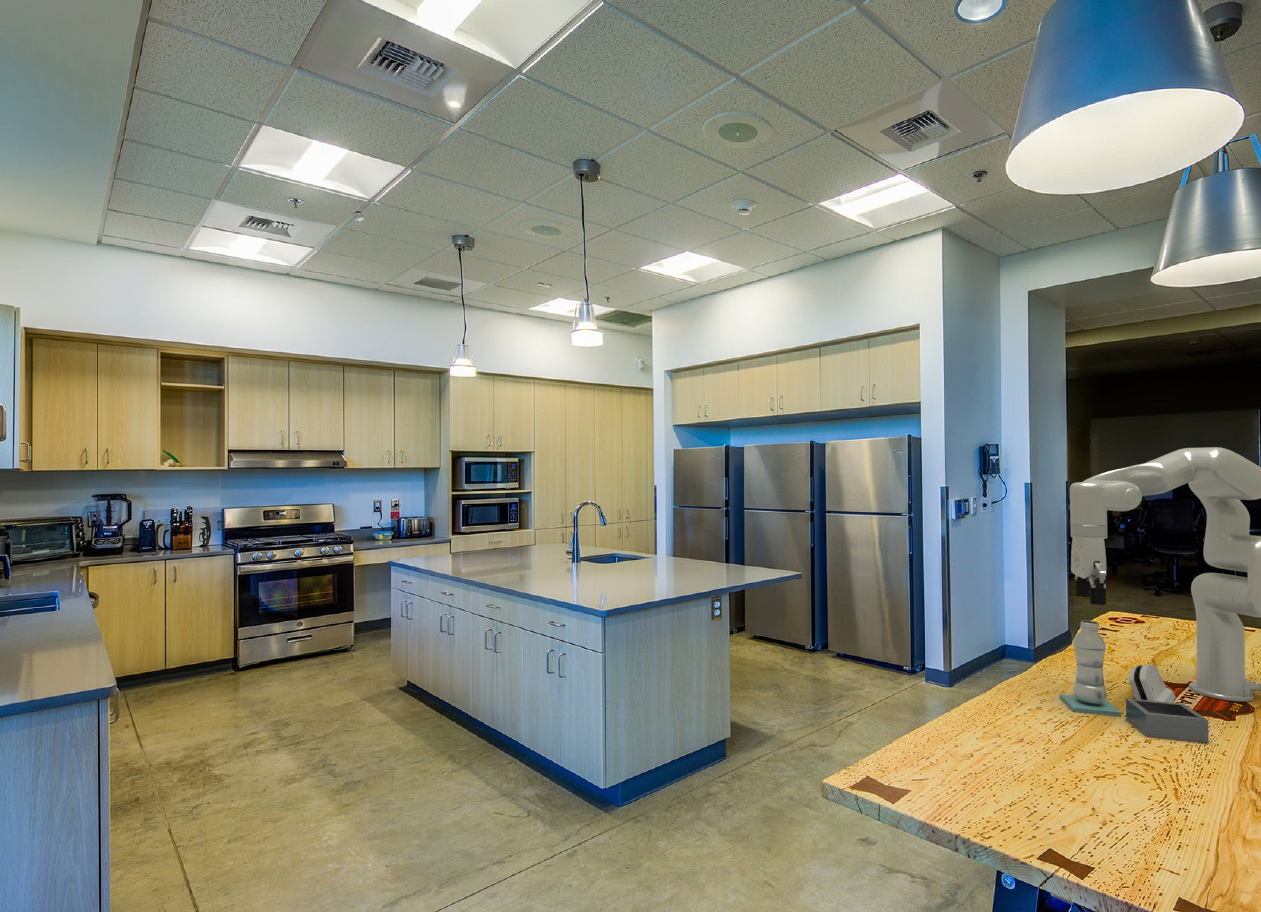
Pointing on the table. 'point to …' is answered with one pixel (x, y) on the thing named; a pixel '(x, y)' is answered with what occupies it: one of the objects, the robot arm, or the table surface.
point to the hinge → (1149, 684)
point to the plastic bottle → (1089, 664)
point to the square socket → (1167, 720)
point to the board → (1089, 706)
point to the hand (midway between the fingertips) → (1090, 600)
